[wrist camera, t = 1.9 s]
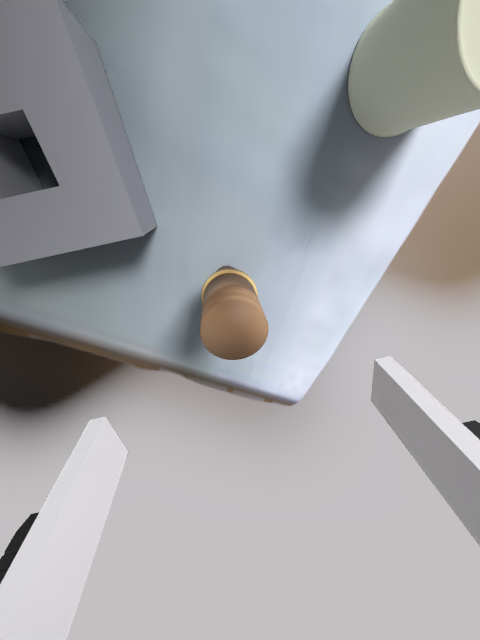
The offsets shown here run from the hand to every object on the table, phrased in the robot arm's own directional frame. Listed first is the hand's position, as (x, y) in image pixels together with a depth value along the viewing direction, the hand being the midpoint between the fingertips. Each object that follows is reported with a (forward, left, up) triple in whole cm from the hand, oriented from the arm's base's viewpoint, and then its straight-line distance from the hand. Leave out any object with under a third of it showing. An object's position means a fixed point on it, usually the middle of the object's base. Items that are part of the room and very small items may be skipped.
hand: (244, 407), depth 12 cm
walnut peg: (0, 0, -20) cm, 20 cm away
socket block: (+13, -14, -20) cm, 28 cm away
